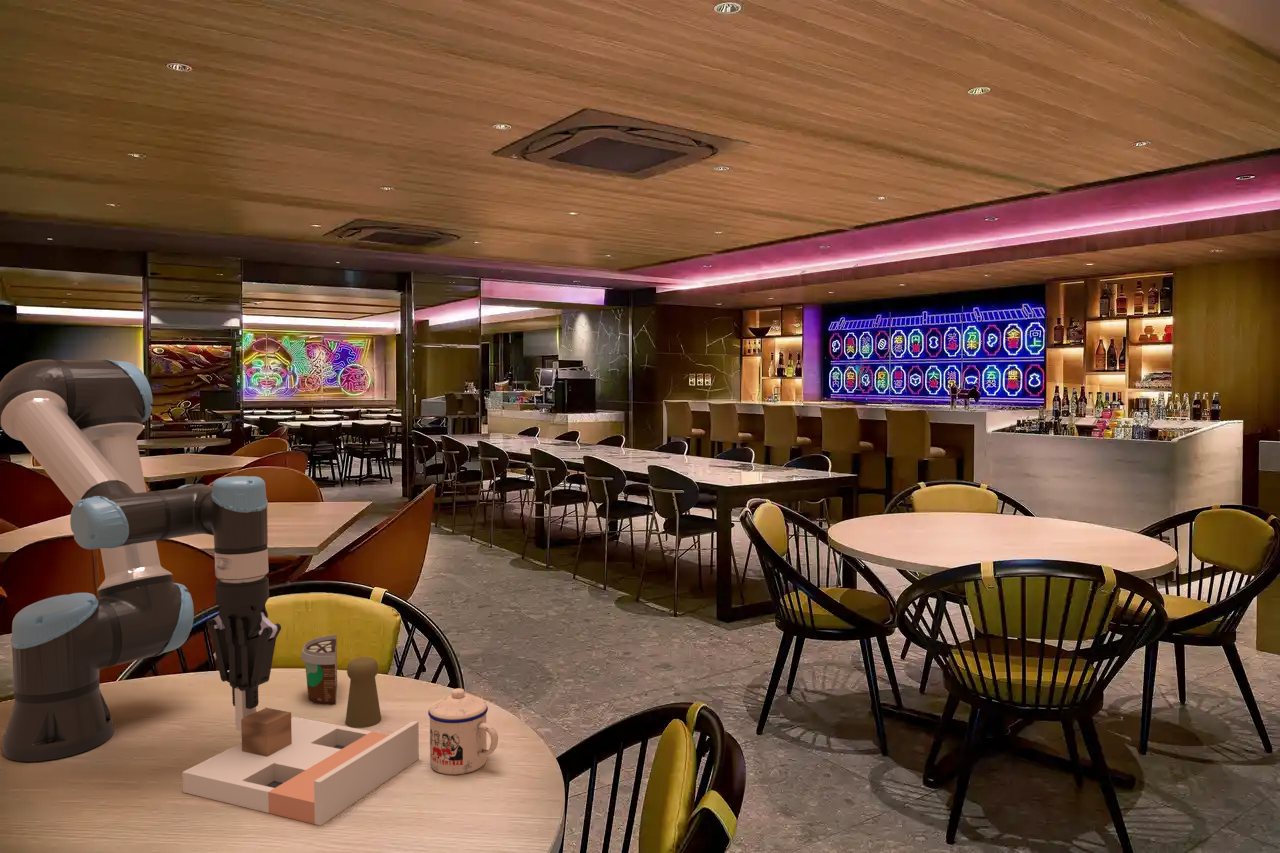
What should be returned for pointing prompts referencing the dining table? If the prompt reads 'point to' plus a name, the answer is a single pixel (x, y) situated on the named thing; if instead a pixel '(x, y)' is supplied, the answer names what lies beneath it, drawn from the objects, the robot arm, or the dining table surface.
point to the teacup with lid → (459, 733)
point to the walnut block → (266, 731)
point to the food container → (321, 669)
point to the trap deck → (306, 770)
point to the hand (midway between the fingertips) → (246, 727)
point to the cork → (362, 693)
